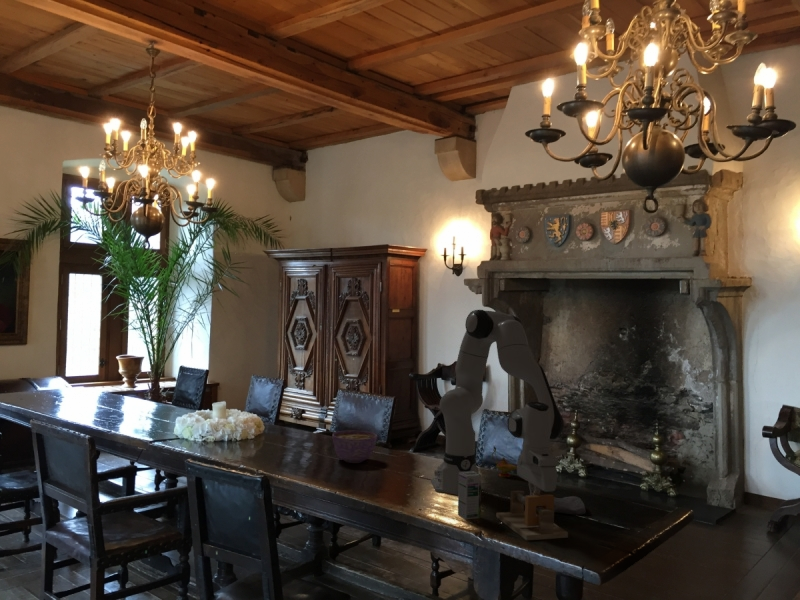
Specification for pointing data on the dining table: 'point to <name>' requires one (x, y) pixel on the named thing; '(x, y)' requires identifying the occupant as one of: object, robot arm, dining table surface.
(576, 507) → the stone block
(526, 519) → the collar
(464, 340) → the robot arm
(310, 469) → the dining table surface
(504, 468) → the magic lamp
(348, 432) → the bowl of food
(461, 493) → the syrup box
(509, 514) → the pipe stand
